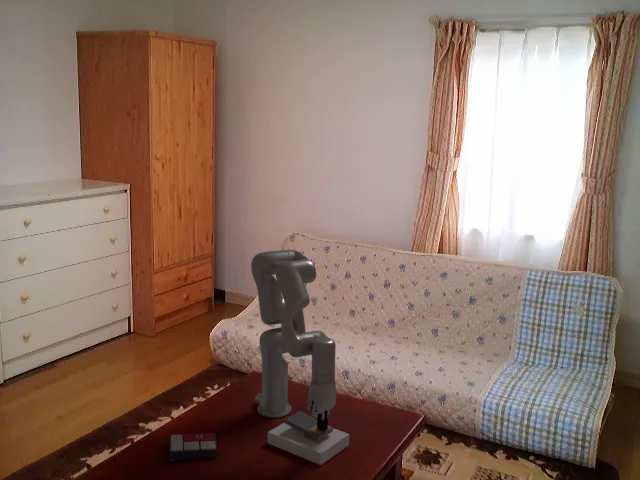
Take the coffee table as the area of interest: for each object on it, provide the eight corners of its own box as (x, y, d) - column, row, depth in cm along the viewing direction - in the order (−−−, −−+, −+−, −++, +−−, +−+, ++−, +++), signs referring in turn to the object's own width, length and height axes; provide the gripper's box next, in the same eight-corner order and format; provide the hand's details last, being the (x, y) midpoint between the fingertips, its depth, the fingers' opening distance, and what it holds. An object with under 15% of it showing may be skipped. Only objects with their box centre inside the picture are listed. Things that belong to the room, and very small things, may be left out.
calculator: (217, 448, 202) (169, 449, 198) (216, 460, 202) (168, 462, 199) (215, 431, 212) (169, 433, 209) (215, 443, 213) (169, 445, 209)
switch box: (267, 443, 212) (267, 427, 211) (297, 425, 225) (297, 411, 224) (320, 465, 199) (321, 449, 198) (348, 445, 212) (349, 430, 211)
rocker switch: (284, 423, 212) (285, 418, 211) (299, 414, 218) (300, 410, 217) (318, 440, 204) (318, 436, 203) (332, 431, 210) (333, 426, 210)
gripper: (327, 366, 212) (326, 418, 215) (299, 380, 200) (299, 434, 203) (345, 372, 208) (344, 424, 211) (318, 386, 196) (318, 441, 199)
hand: (322, 429), depth 207 cm, fingers closed
